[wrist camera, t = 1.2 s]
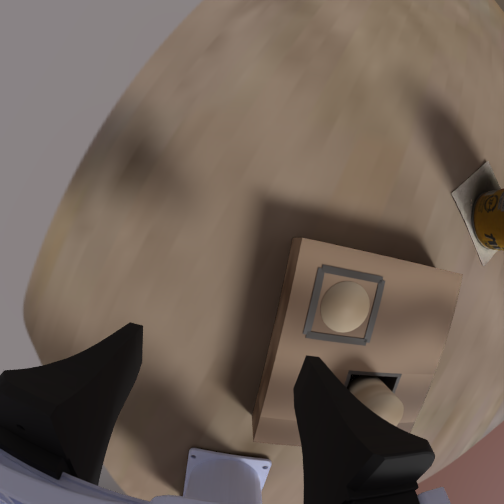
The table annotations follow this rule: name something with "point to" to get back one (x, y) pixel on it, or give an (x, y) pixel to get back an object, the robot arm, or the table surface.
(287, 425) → the board
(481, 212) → the condiment
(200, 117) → the table surface
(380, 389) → the peg
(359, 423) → the robot arm
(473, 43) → the table surface
